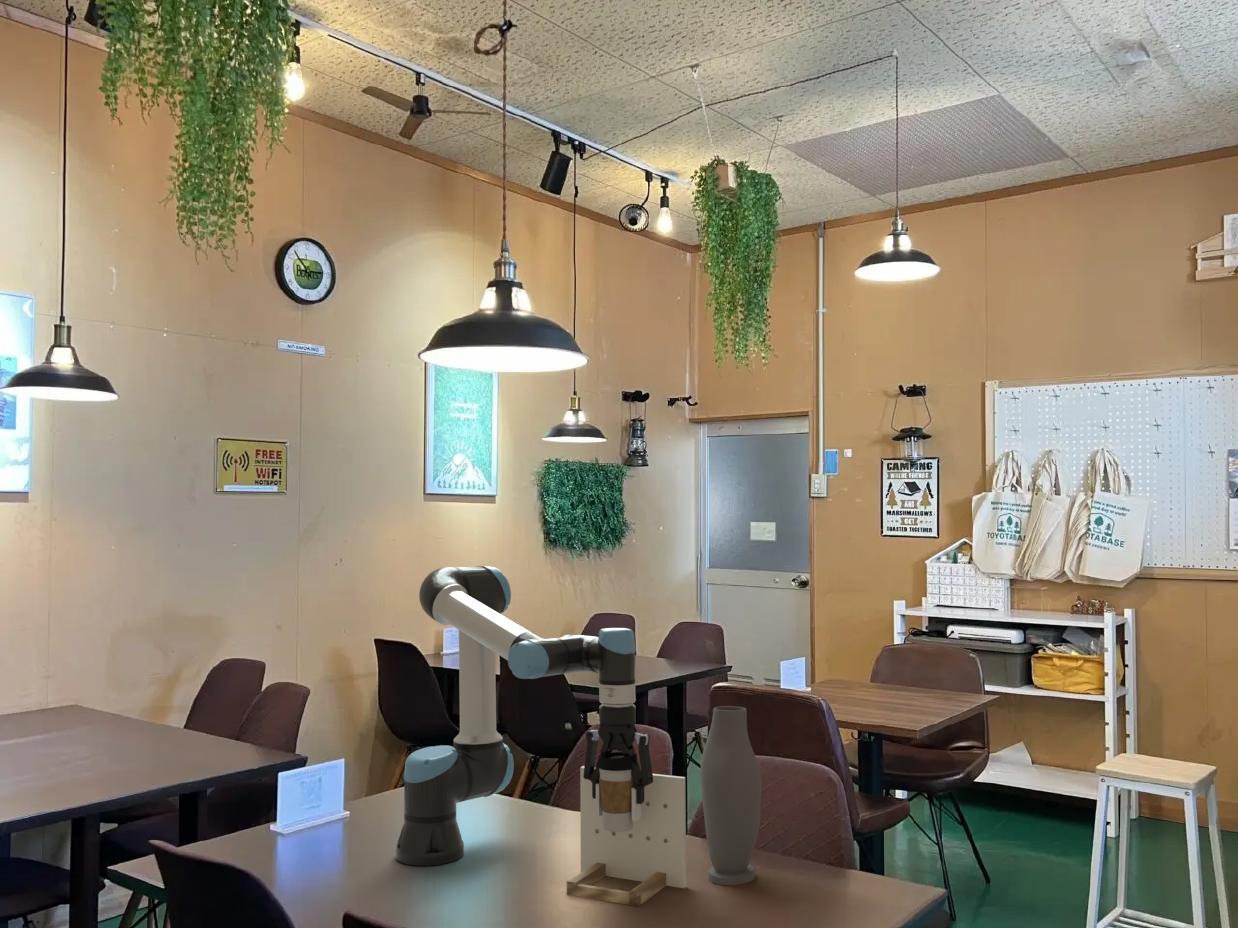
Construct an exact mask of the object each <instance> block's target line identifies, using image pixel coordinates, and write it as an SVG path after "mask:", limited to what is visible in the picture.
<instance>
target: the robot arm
mask: <svg viewBox="0 0 1238 928" xmlns="http://www.w3.org/2000/svg"><path fill="white" fill-rule="evenodd" d="M419 587H420V588H419V593H418V596H419V598H418V599H419V600H418V601H419V602H420V606H421V607H422V610H423V611H424V612H425V614H426V615H428V616H429V618H431V619H432V620H434V621H435V622H436V623H438V624H441V625H445V626H447V625H451V626H452V627H453V628H455V629H457V630H458V668H459V669H458V670H459V672H458V673H459V676H458V677H459V679H458V680H459V683H458V685H459V688H458V689H459V732H458V734H457V735H456V736H455V737H454V738H453V746H452V745H448V744H447V745H443V744H440V745H435V746H433V745H432V746H426V747H423V748H419V749H417V750H415V751H413V752H412V753H410V754H408V757H406V760H405V762H404V771H403V772H404V773H403V779H404V788H403V789H404V792H403V793H404V796H403V799H404V802H403V806H404V807H403V808H404V809H403V817H404V818H403V824H402V827H401V831H400V834H399V837H398V840H397V844H396V846H395V859H396V861H397V862H399V863H402V864H404V865H410V866H419V867H420V866H422V867H423V866H424V867H425V866H438V865H444V864H449V863H452V862H455V861H458V860H459V859H461V858H462V857H464V853H465V843H464V841H463V839H462V833H461V830H460V827H459V824H458V820H457V804H458V803H462V802H466V801H471V800H475V799H479V798H487V797H490V796H493V795H494V794H498V793H500V792H502V791H503V790H505V788H506V787H507V786H508V785H509V784H510V782H511V780H512V778H513V775H514V774H513V773H514V767H515V766H514V765H515V763H514V757H513V754H512V753H511V749H510V747H508V745H507V744H505V743H504V737H503V736H502V735H501V733H499V732H498V730H497V691H496V690H497V685H496V681H497V680H496V674H497V673H496V655H498V656H500V657H501V658H503V659H505V660H506V661H507V664H508V667H509V670H511V673H512V675H514V676H515V677H516V678H518V679H521V680H522V679H523V680H527V679H529V680H531V679H532V680H536V679H538V678H539V679H540V678H543V677H551V676H556V675H557V676H558V675H565V674H574V673H580V672H582V673H584V672H587V673H596V674H598V684H599V685H598V687H599V688H598V691H599V692H598V694H599V695H598V696H599V698H598V699H599V703H601V704H600V705H599V707H598V712H599V713H598V715H599V717H598V718H599V727H598V729H591V730H588V731H586V733H585V737H586V742H587V744H586V751H585V752H586V753H585V761H584V766H585V767H584V775H583V777H584V779H588V780H590V781H591V782H592V797H593V799H596V817H600V816H602V815H603V811H602V803H601V792H600V782H599V777H600V771H599V768H598V767H597V766H598V764H597V763H596V760H597V751H598V742H599V738H600V739H601V741H602V742H603V743H602V746H601V748H600V754H599V755H602V757H604V758H608V757H610V754H611V752H614V751H617V752H622V754H623V756H625V757H626V756H631V755H633V754H635V752H636V749H635V746H634V742H635V740H636V744H637V745H638V746H637V748H638V758H639V761H638V759H637V765H635V764H634V763H633V762H632V765H633V769H632V770H631V776H632V779H633V781H634V784H635V786H634V787H633V788H632V821H637V820H639V819H640V818H641V804H642V803H644V800H645V799H644V787H645V786H647V785H649V784H651V783H653V774H654V773H653V768H652V763H651V762H652V761H651V755H650V747H649V745H650V740H651V736H650V734H649V733H645V734H642V733H641V732H640V733H639V732H638V731H637V728H636V721H637V720H636V719H637V717H636V716H637V715H636V712H637V711H636V705H635V704H634V703H636V701H637V699H636V649H637V648H636V643H635V642H636V641H635V633H634V631H633V630H632V629H631V628H626V627H608V628H601V629H600V630H599V632H598V636H592V635H582V634H578V633H576V634H565V635H563V636H562V637H555V638H546V639H545V638H541V637H540V636H538V635H536V634H534V633H533V632H531V631H529V630H528V629H526V628H524V627H523V626H521V625H519V624H517V623H515V622H514V621H513V620H510V619H509V618H507V617H505V616H504V615H502V614H503V613H504V612H506V611H507V610H508V608H509V606H510V604H511V600H512V599H511V598H512V591H511V586H510V582H509V580H508V577H506V575H504V573H503V571H501V570H500V569H498V568H497V567H494V566H488V565H474V566H473V565H471V566H470V565H469V566H453V567H452V566H445V567H444V566H443V567H440V568H437V569H434V570H433V571H432V572H430V573H428V575H426V577H424V579H423V581H422V583H421V585H420V586H419Z"/></svg>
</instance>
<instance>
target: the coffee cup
mask: <svg viewBox="0 0 1238 928" xmlns="http://www.w3.org/2000/svg"><path fill="white" fill-rule="evenodd" d="M637 760H638V754H637V752H636V751H635V754H633V755H631V756H626V757H625V756H623V754H622V751H612V752H611V754H610V757H608V758H604V757H602V755H600V754H599V755H598V759H597V762H596V764H598V766H597V767H598V768H599V771H600V777H599V782H600V792H601V803H602V811H603V824H604V829H605V830H607V831H612V832H624V831H628V830H631V829H632V828H633V821H632V788H633V787H634V786H635V784H634V781H633V779H632V776H631V770H632V769H633V765H632V762H633V763H634V764H635V765H637Z"/></svg>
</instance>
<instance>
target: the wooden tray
mask: <svg viewBox="0 0 1238 928" xmlns="http://www.w3.org/2000/svg"><path fill="white" fill-rule="evenodd" d="M604 877H607V876H606V864H604V863H595V864H594V865H592V866H591V867H589V868H587V869H586V870H584V871H583V872H581V871H580V873H578V874H576V875H574V876H573V877H571V878H570V879H568V880H566V895H571V896H576V897H581V898H587V899H594V900H600V901H605V902H612V903H618V904H621V905H622V904H623V905H628V906H634V907H641V905H643V904H644V903H645V902H647V901H648V900H649V899H651V897H653V896H654V895H655V894H657V893H658V892H660V891H661V890H662V889H663V888H665V887H667V886H666V873H662V872H656V873H655V874H653V875H652V876H650V877H649V878H648V879H646V880H645V881H643V882H640V884H638V885H637V886H634V888H633V889H631V890H629V891H625V890H621V889H620V890H619V889H614V888H607V887H603V886H596V885H594V884H595V883H597V882H599V881H601V879H604Z"/></svg>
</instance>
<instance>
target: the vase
mask: <svg viewBox="0 0 1238 928" xmlns="http://www.w3.org/2000/svg"><path fill="white" fill-rule="evenodd" d="M747 712H748V711H747V708H745V707H743V706H735V705H723V706H722V705H721V706H715V707H714V708H713V709H712V720H711V725H710V728H709V732H708V735H707V739H706V741H705V745H704V748H703V751H702V755H701V760H700V772H699V773H700V774H699V775H700V782H699V783H700V792H701V799H702V808H703V816H704V817H703V818H704V824H705V825H704V827H705V834H706V840H707V847H708V854H709V859H710V862H711V865H712V866H711V867H709V868H708V871H707V873H708V874H707V875H708V877H707V878H708V881H710V882H711V883H712V884H716V885H720V886H739V885H744V884H747V883H750V882H752V881H754V880H755V878H756V873H755V872H756V870H755V867H754V866H752V865H750V862H751V859H752V855H753V854H754V850H755V846H756V843H757V838H758V836H759V835H758V834H759V832H760V825H761V824H760V823H761V806H762V805H761V804H762V803H761V800H762V778H761V777H762V776H761V770H760V766H759V763H758V761H757V757H756V755H755V751H754V750H753V747H752V745H751V742H750V738H749V734H748V721H747V720H748V719H747V718H748V717H747Z"/></svg>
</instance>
